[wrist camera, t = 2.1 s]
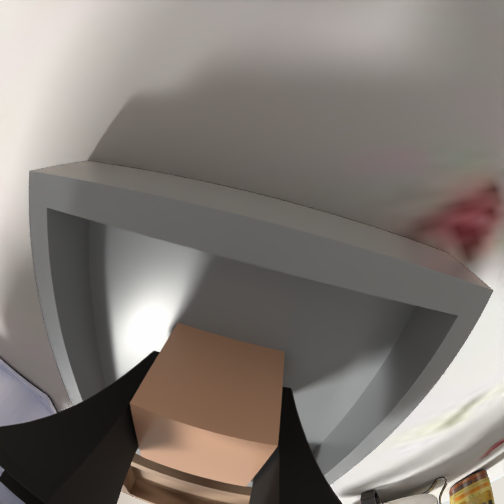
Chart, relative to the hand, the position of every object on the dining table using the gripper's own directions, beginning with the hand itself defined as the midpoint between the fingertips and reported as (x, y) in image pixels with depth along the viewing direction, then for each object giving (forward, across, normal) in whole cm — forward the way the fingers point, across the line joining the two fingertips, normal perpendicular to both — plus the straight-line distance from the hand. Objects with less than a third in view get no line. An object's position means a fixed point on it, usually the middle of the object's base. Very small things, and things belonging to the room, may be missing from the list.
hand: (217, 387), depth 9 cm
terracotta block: (+1, 0, 0) cm, 1 cm away
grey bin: (+2, 0, 0) cm, 2 cm away
